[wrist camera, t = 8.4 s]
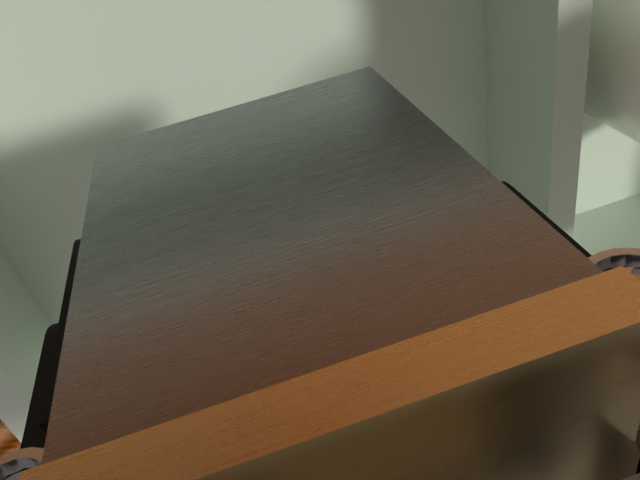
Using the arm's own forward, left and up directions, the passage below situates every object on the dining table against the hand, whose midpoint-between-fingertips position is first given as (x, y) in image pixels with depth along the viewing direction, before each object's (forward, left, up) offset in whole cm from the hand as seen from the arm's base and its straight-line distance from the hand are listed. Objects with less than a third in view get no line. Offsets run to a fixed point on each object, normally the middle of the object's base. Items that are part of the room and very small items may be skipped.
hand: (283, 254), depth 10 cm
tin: (0, 0, -1) cm, 1 cm away
